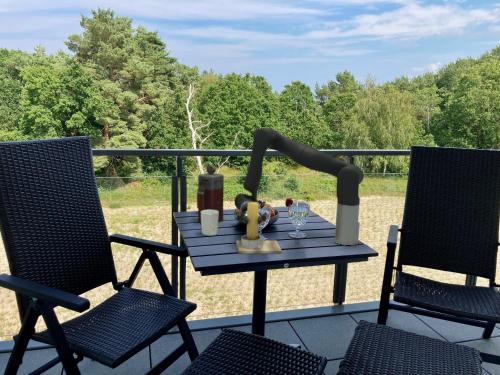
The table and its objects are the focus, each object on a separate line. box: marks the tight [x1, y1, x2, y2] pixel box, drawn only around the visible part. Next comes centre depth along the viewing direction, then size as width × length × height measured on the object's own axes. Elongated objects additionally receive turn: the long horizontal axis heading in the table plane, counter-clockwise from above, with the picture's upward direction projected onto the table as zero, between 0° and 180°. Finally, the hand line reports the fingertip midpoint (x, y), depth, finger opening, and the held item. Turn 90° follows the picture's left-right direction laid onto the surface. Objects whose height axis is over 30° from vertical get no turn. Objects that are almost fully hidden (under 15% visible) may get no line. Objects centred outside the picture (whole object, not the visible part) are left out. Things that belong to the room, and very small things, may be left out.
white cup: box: [200, 210, 219, 236], centre depth 193 cm, size 8×8×10 cm
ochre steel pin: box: [246, 201, 260, 240], centre depth 175 cm, size 4×4×16 cm
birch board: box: [235, 239, 283, 255], centre depth 177 cm, size 17×13×1 cm
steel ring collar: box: [240, 233, 264, 249], centre depth 176 cm, size 9×9×4 cm
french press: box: [196, 164, 225, 224], centre depth 210 cm, size 9×11×28 cm
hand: (253, 222), depth 172 cm, fingers closed on ochre steel pin, 4 cm apart
